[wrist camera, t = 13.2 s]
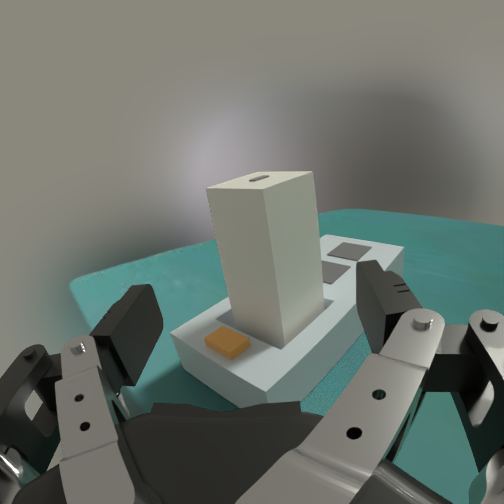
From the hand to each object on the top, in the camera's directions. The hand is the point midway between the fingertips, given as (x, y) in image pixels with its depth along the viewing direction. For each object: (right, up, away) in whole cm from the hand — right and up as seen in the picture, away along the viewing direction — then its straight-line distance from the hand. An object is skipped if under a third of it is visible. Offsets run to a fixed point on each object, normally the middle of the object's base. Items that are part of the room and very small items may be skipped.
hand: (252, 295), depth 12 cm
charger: (+2, -5, +11) cm, 12 cm away
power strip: (+5, -4, +14) cm, 15 cm away
